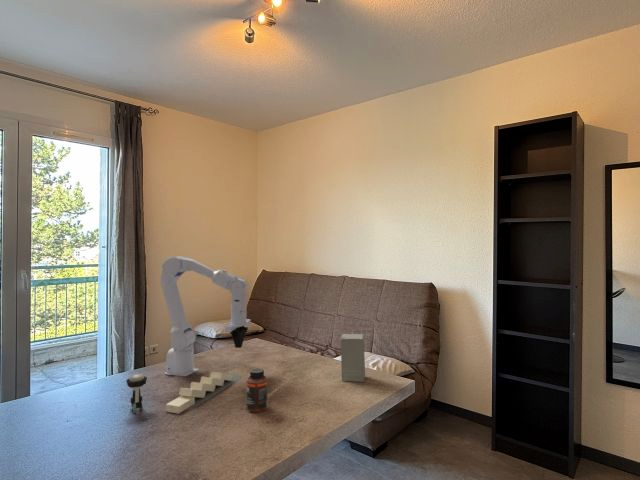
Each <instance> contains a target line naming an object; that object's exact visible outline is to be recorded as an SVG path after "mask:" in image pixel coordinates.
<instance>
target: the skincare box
mask: <svg viewBox="0 0 640 480" xmlns="http://www.w3.org/2000/svg"><path fill="white" fill-rule="evenodd" d="M340 358H341V359H340V360H341V362H340V364H341V382H353V383H357V382H358V383H359V382H360V383H364V382H365V378H366V360H365V358H366V357H365V335H364V334H363V333H361V334H360V333H355V334H354V333H343V334H341V337H340Z"/></svg>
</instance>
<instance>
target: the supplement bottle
mask: <svg viewBox="0 0 640 480" xmlns="http://www.w3.org/2000/svg"><path fill="white" fill-rule="evenodd" d="M249 374H250V376H249V377H247V379H246V410H247V411H249V412H250V413H261V412H263V411H265V410H267V408H268V379H267V377H266V376H265V370H264V368H260V367H257V368H256V367H255V368H251V369H250V371H249Z"/></svg>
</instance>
